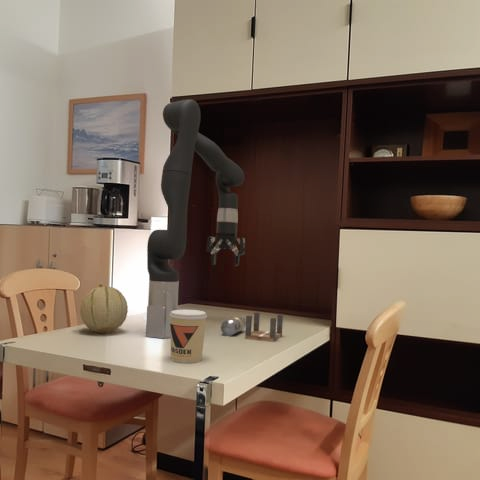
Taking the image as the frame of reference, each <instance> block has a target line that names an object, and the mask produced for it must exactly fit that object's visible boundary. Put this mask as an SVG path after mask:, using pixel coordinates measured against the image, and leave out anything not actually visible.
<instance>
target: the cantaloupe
mask: <svg viewBox="0 0 480 480" xmlns="http://www.w3.org/2000/svg"><path fill="white" fill-rule="evenodd" d="M128 307H129V306H128V302H127V300H126V298H125V296H124V295H123V293H122V292H121V291H120V290H119V289H118V288H115V287H112V286H105V285H104V284H102V283H100V284H99V285H98V286H97V287H93V288H92V289H90V290H89V291H88V292H87V293H86V294H85V295H84V297H83V298H82V301H81V303H80V311H79V313H80V318H81V320H82V323H83V324H84V325H85V326H86V327H87V329H89V330H91V331H93V332H97V333H99V334H106V333H110V332H113V331H115V330H117V329H119V328H120V327H121V326H122V325H123V324H124V323H125V321H126V319H127V317H128V315H127V314H128V312H129V311H128V310H129V309H128Z"/></svg>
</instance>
